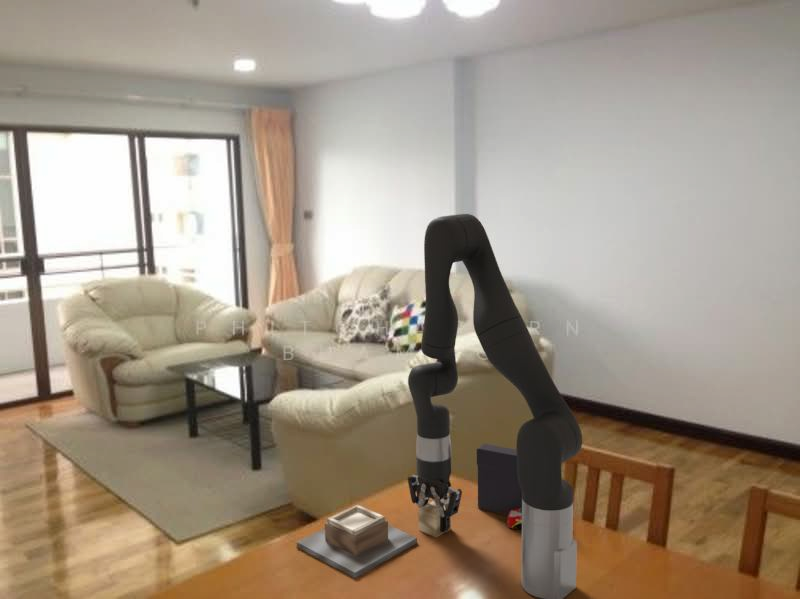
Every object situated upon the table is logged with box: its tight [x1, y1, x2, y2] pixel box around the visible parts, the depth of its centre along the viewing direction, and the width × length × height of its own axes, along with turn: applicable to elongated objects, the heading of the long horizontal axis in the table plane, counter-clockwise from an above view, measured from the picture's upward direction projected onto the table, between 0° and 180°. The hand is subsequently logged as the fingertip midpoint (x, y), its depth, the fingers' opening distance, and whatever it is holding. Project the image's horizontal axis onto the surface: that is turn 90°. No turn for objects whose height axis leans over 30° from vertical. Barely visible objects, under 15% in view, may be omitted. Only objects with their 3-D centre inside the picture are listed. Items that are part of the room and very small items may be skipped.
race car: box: [506, 508, 522, 532], centre depth 153 cm, size 13×5×4 cm, turn 77°
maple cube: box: [417, 500, 452, 538], centre depth 153 cm, size 5×5×5 cm
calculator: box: [476, 443, 522, 516], centre depth 160 cm, size 11×4×15 cm, turn 59°
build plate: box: [296, 504, 418, 579], centre depth 147 cm, size 18×18×6 cm
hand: (434, 526), depth 153 cm, fingers closed on maple cube, 5 cm apart
